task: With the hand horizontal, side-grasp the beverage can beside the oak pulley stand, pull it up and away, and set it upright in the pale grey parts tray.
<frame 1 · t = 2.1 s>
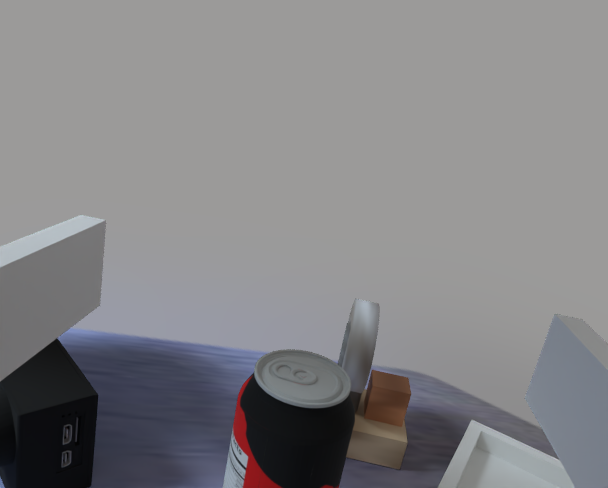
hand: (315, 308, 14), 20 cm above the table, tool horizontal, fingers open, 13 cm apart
pulley stand: (337, 430, 41), on the table
digital camera: (19, 454, 33), on the table
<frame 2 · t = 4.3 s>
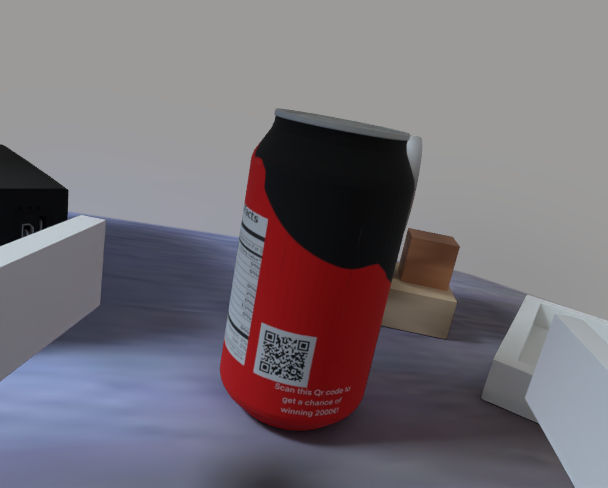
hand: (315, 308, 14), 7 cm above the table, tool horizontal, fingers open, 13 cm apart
beverage can: (287, 400, 22), on the table
pulley stand: (366, 304, 34), on the table
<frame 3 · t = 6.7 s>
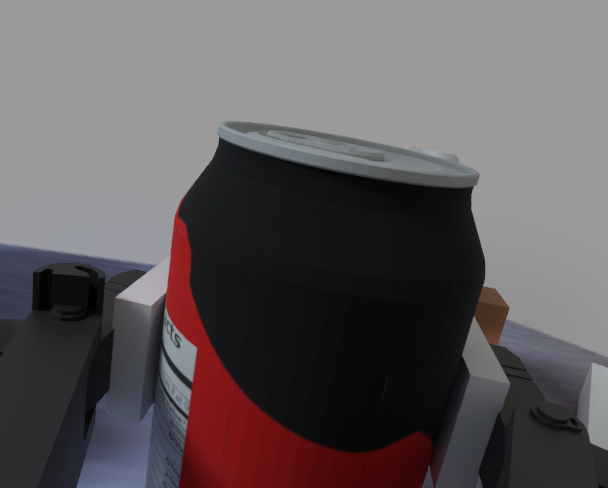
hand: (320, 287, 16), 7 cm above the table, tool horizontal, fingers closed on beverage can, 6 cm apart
pulley stand: (377, 378, 25), on the table
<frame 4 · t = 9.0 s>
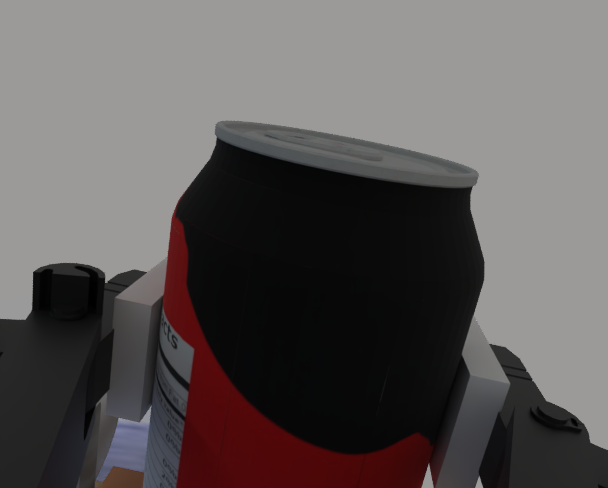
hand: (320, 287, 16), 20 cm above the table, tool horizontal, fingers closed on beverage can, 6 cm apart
when the fingers open (9 cm above the table, at t = 11.6 s): beverage can drops 1 cm, resting on tray.
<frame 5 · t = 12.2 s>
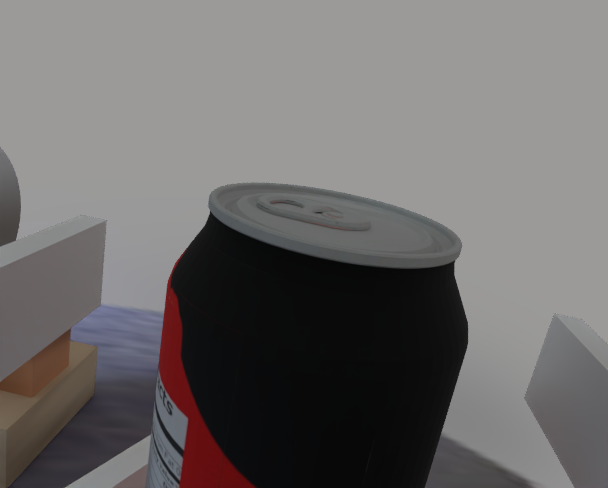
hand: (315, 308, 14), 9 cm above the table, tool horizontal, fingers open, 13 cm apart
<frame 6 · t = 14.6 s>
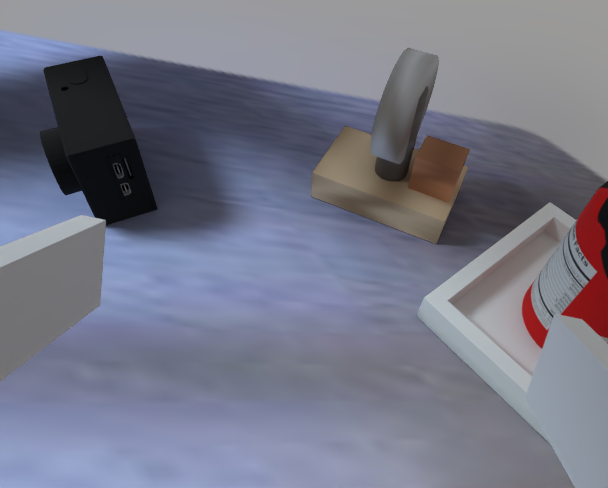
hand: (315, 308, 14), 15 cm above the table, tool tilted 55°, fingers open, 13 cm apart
beverage can: (566, 330, 31), resting on tray
pulley stand: (385, 193, 39), on the table
digital camera: (107, 177, 39), on the table
tray: (562, 332, 32), on the table
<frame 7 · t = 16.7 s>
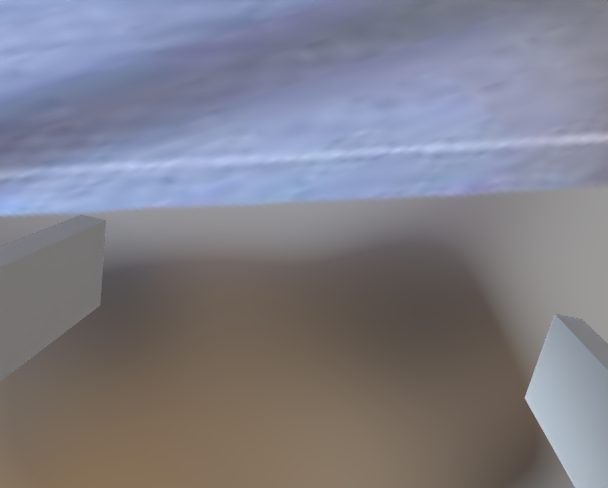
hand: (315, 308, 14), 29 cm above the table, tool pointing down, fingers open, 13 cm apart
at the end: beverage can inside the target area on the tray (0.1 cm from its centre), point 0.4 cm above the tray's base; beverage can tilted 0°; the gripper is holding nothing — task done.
